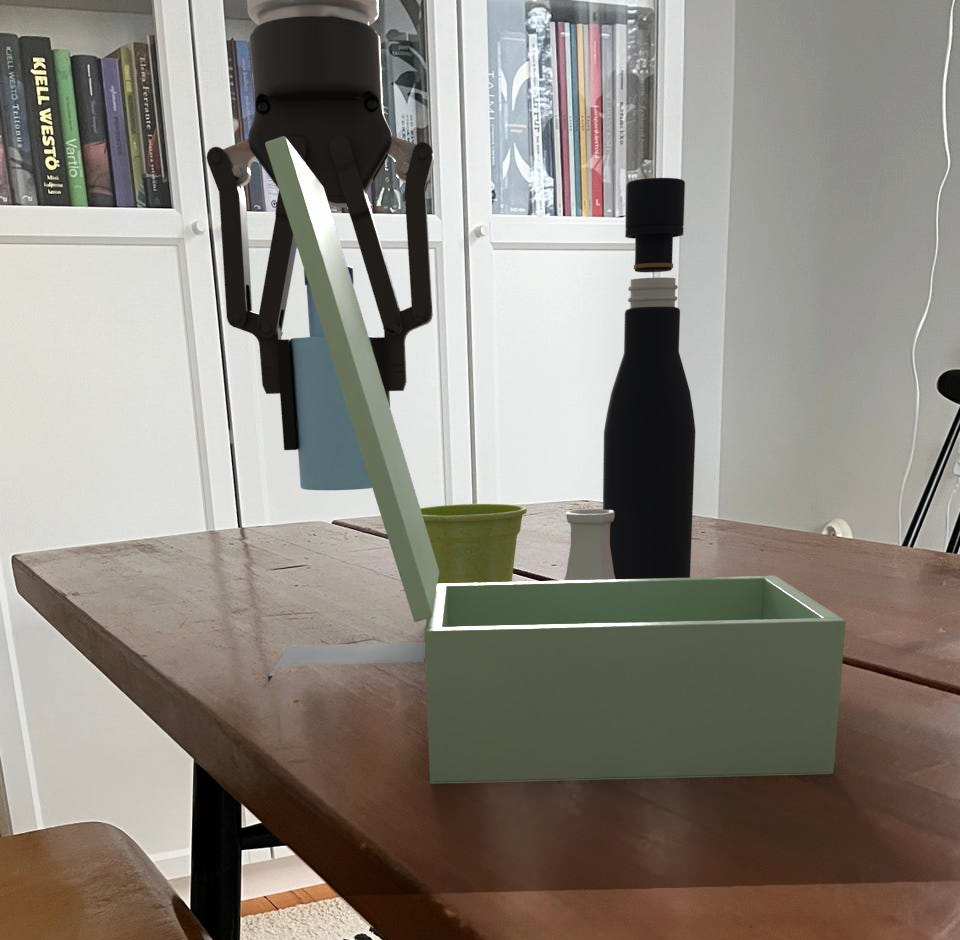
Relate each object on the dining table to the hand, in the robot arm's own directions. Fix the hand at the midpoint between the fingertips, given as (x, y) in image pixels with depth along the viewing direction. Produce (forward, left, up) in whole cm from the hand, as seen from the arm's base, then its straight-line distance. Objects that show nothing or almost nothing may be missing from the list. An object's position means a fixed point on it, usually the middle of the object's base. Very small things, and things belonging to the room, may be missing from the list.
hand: (338, 447), depth 81 cm
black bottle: (-21, -8, -14) cm, 27 cm away
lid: (-4, +23, +4) cm, 24 cm away
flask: (-16, +2, -14) cm, 22 cm away
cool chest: (-16, +23, -14) cm, 31 cm away
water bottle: (0, 0, -2) cm, 2 cm away
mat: (0, 0, -14) cm, 14 cm away
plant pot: (-8, -16, -14) cm, 23 cm away
